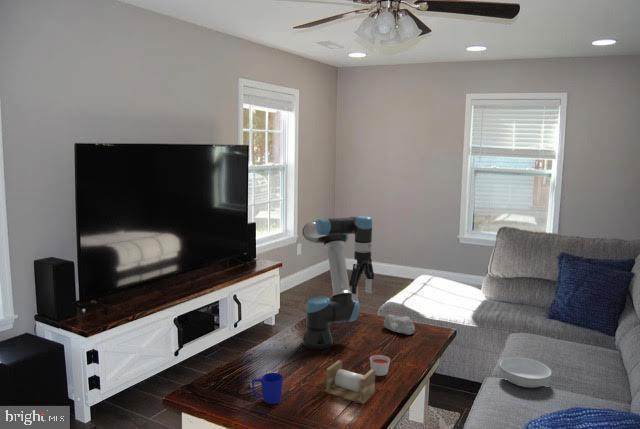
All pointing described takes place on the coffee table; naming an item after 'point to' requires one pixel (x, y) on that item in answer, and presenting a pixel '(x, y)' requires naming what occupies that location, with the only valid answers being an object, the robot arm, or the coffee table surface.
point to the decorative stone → (399, 324)
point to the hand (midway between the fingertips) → (361, 296)
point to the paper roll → (348, 380)
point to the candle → (380, 364)
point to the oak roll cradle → (365, 390)
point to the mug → (270, 387)
